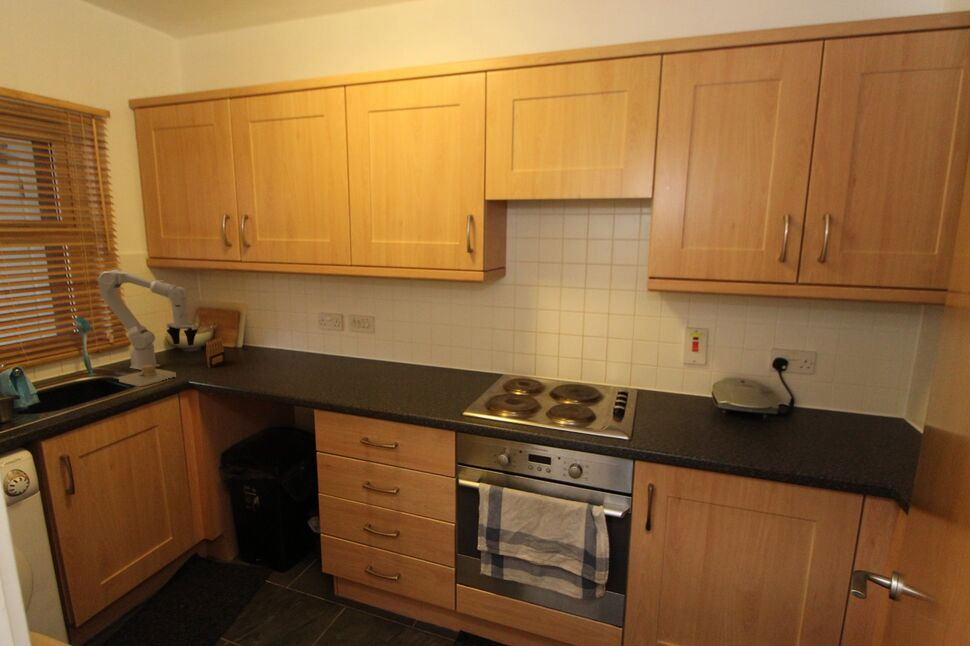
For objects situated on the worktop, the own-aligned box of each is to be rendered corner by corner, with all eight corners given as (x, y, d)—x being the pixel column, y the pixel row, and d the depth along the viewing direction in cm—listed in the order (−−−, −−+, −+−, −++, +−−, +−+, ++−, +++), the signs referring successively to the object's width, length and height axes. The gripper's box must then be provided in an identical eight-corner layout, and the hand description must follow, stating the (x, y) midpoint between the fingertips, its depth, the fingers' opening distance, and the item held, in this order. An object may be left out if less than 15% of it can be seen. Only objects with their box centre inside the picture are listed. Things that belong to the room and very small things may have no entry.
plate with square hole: (119, 381, 199) (118, 377, 199) (154, 372, 212) (154, 368, 211) (141, 386, 193) (140, 381, 193) (176, 377, 206) (175, 372, 205)
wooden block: (142, 379, 202) (141, 366, 201) (150, 377, 205) (149, 364, 204) (147, 380, 201) (146, 367, 200) (155, 378, 204) (154, 365, 203)
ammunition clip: (222, 361, 230) (219, 336, 228) (226, 362, 230) (223, 336, 227) (206, 368, 219) (203, 341, 217) (210, 368, 219) (207, 341, 217)
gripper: (159, 315, 218) (163, 345, 220) (186, 316, 214) (189, 347, 217) (173, 312, 225) (176, 342, 227) (199, 314, 221) (202, 344, 223)
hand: (183, 344), depth 222 cm, fingers open, 7 cm apart
